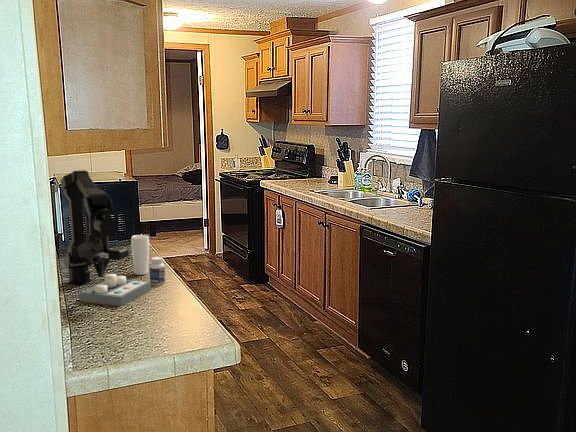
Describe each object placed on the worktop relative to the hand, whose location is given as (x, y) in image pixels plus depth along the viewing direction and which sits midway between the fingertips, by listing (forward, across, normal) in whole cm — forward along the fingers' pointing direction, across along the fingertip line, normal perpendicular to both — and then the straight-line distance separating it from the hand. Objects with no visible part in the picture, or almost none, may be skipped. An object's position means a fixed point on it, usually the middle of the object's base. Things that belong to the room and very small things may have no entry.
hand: (100, 277), depth 180 cm
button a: (+7, 0, 0) cm, 7 cm away
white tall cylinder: (+8, -5, +33) cm, 34 cm away
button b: (+5, 0, +6) cm, 7 cm away
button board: (+8, +2, +6) cm, 10 cm away
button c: (+7, 0, +11) cm, 13 cm away
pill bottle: (+8, +8, +23) cm, 25 cm away
